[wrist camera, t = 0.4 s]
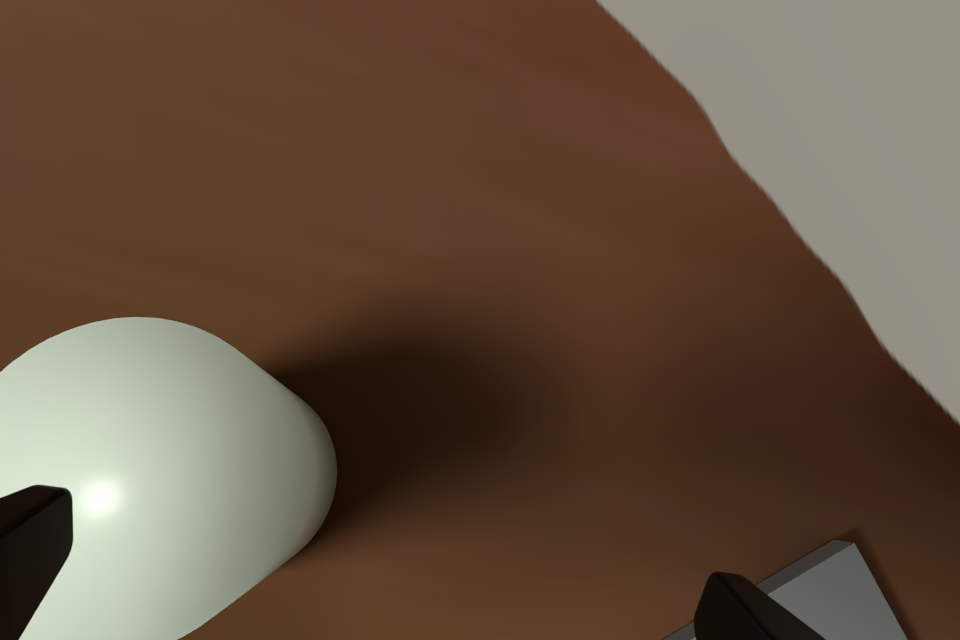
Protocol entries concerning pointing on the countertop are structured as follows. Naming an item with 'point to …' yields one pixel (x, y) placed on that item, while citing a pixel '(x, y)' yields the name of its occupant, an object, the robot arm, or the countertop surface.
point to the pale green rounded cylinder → (160, 474)
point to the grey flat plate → (829, 596)
